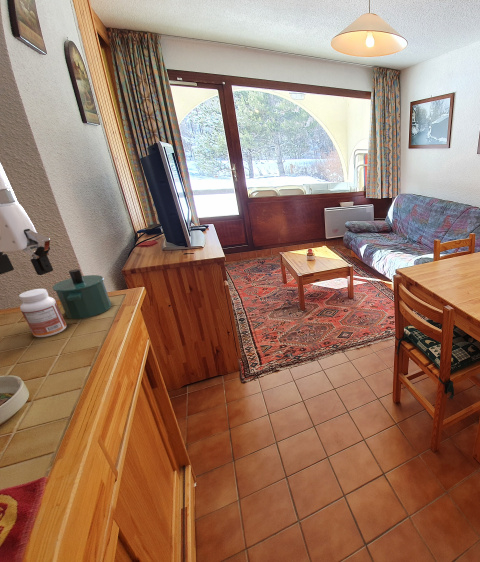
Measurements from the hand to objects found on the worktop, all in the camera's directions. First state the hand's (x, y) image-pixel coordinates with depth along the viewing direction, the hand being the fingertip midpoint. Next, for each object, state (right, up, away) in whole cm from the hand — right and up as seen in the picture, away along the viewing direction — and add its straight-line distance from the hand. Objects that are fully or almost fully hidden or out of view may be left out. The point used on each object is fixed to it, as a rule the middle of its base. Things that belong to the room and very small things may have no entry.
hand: (25, 272), depth 73 cm
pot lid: (0, -3, +13) cm, 14 cm away
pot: (0, -11, +17) cm, 20 cm away
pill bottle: (-1, -15, +6) cm, 16 cm away
